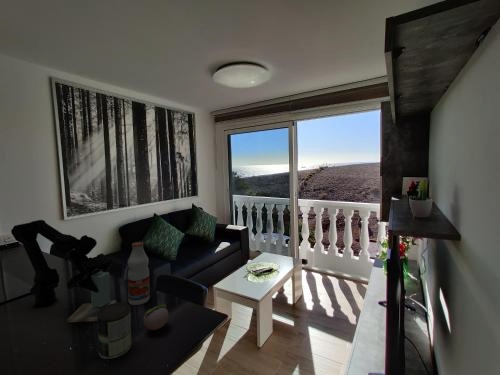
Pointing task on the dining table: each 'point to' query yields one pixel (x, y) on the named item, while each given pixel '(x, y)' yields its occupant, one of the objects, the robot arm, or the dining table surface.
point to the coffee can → (114, 330)
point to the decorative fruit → (156, 317)
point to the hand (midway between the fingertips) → (103, 288)
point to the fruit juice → (138, 275)
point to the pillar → (101, 289)
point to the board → (87, 313)
